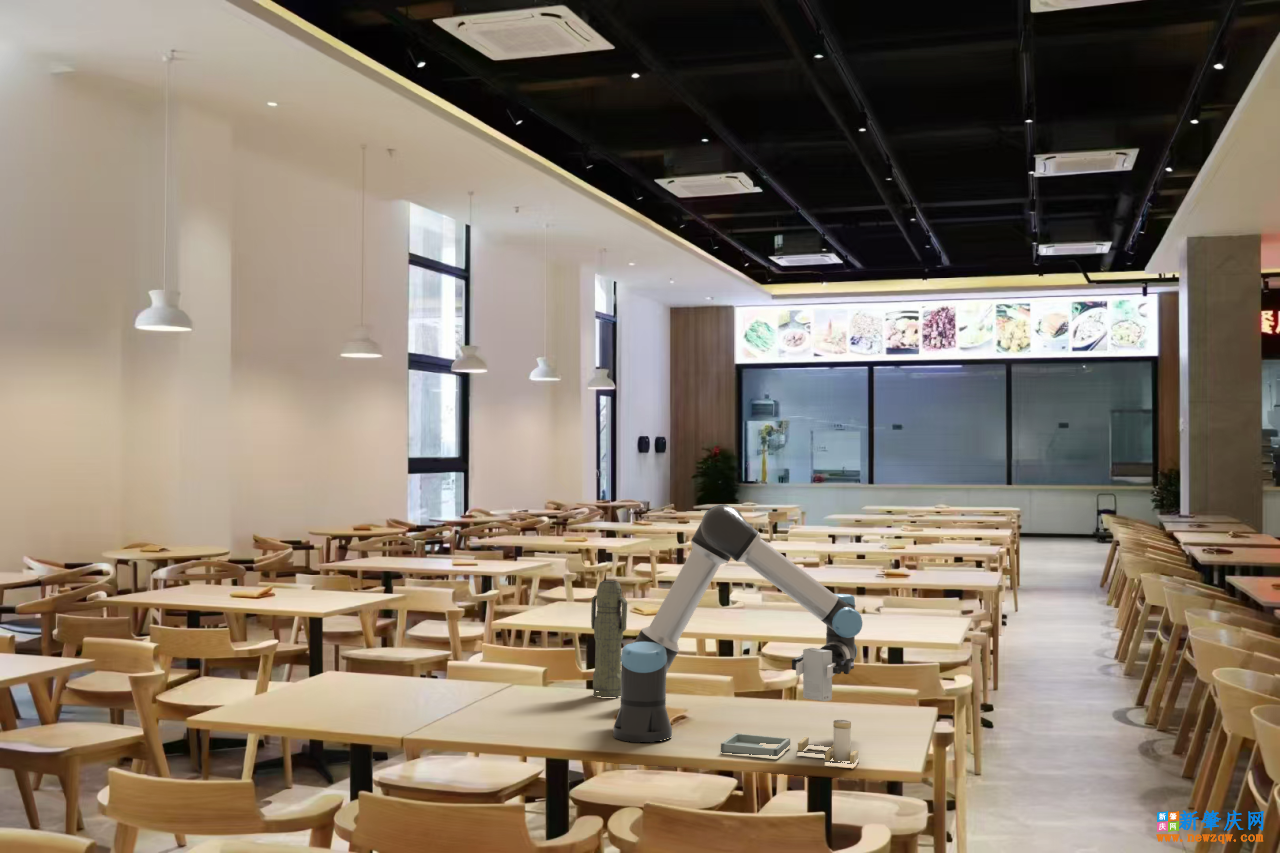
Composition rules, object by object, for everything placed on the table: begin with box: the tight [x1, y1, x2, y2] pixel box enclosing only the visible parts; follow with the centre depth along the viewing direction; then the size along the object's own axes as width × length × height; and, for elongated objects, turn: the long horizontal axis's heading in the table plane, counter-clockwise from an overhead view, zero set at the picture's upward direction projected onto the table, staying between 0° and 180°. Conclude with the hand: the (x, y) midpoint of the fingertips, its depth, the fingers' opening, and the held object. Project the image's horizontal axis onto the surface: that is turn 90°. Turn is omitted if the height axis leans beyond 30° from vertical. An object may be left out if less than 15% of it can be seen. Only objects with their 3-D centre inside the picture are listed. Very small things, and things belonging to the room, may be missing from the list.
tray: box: [720, 733, 791, 756], centre depth 283 cm, size 14×13×2 cm
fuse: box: [832, 719, 852, 762], centre depth 271 cm, size 4×4×10 cm
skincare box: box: [802, 647, 833, 702], centre depth 282 cm, size 6×4×12 cm
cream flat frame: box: [796, 736, 859, 764], centre depth 277 cm, size 15×16×3 cm
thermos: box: [590, 580, 628, 697], centre depth 353 cm, size 9×12×35 cm
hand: (813, 671), depth 278 cm, fingers closed on skincare box, 7 cm apart
